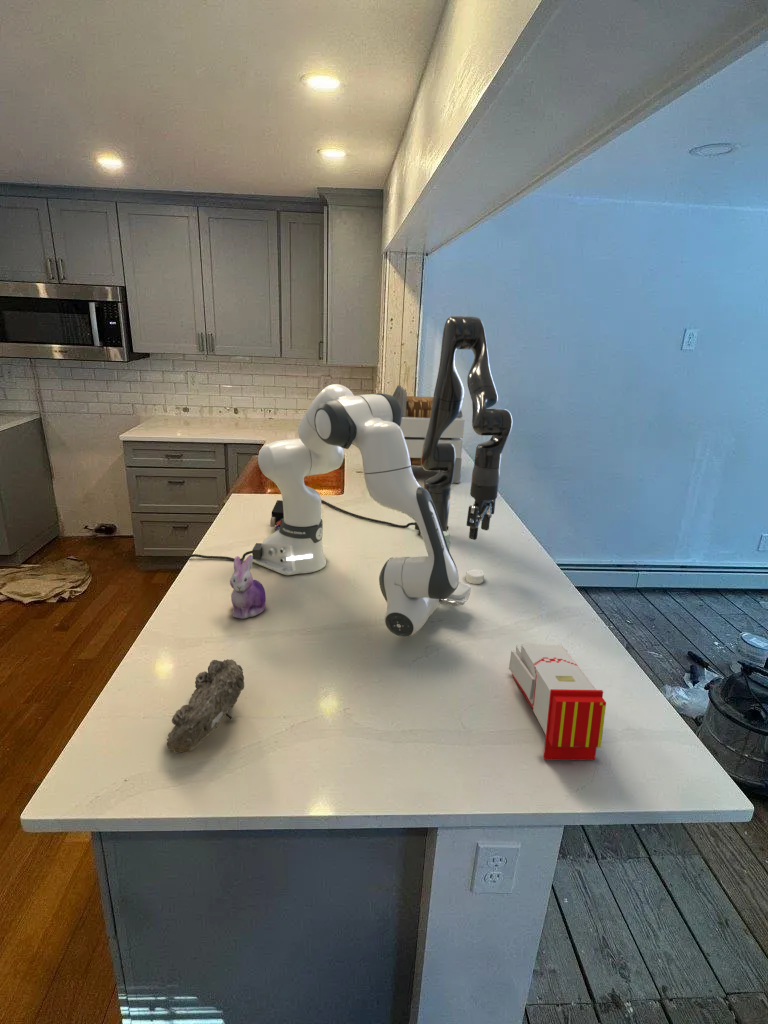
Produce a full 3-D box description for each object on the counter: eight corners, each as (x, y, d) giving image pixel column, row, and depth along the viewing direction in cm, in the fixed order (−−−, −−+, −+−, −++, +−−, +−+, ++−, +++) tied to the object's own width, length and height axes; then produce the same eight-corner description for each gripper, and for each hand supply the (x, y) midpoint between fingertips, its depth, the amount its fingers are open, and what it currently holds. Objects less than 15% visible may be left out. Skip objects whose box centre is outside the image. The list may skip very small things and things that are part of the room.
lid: (469, 584, 165) (470, 577, 164) (463, 576, 170) (463, 569, 169) (485, 583, 166) (486, 576, 165) (479, 575, 171) (480, 568, 170)
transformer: (382, 463, 289) (386, 382, 275) (445, 464, 293) (451, 384, 279) (390, 482, 257) (394, 392, 243) (460, 483, 261) (468, 394, 247)
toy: (558, 627, 126) (616, 698, 97) (552, 682, 129) (607, 767, 99) (504, 626, 126) (545, 697, 96) (499, 681, 128) (538, 766, 99)
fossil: (192, 660, 117) (244, 628, 112) (224, 691, 120) (276, 661, 115) (142, 746, 98) (202, 712, 93) (182, 779, 101) (242, 748, 96)
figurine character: (289, 537, 196) (294, 517, 209) (288, 517, 193) (294, 498, 206) (269, 536, 196) (276, 516, 209) (268, 517, 192) (275, 498, 206)
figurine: (235, 623, 139) (232, 568, 134) (225, 604, 148) (222, 552, 143) (272, 616, 143) (271, 562, 138) (261, 598, 152) (259, 546, 147)
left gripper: (463, 595, 139) (478, 573, 151) (387, 576, 147) (407, 557, 158) (461, 617, 141) (476, 594, 153) (386, 598, 149) (406, 577, 161)
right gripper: (482, 472, 165) (476, 523, 171) (462, 484, 154) (456, 538, 159) (507, 477, 161) (500, 529, 167) (487, 490, 150) (481, 545, 156)
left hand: (440, 575), depth 156 cm, fingers open, 5 cm apart
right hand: (478, 534), depth 163 cm, fingers open, 8 cm apart
